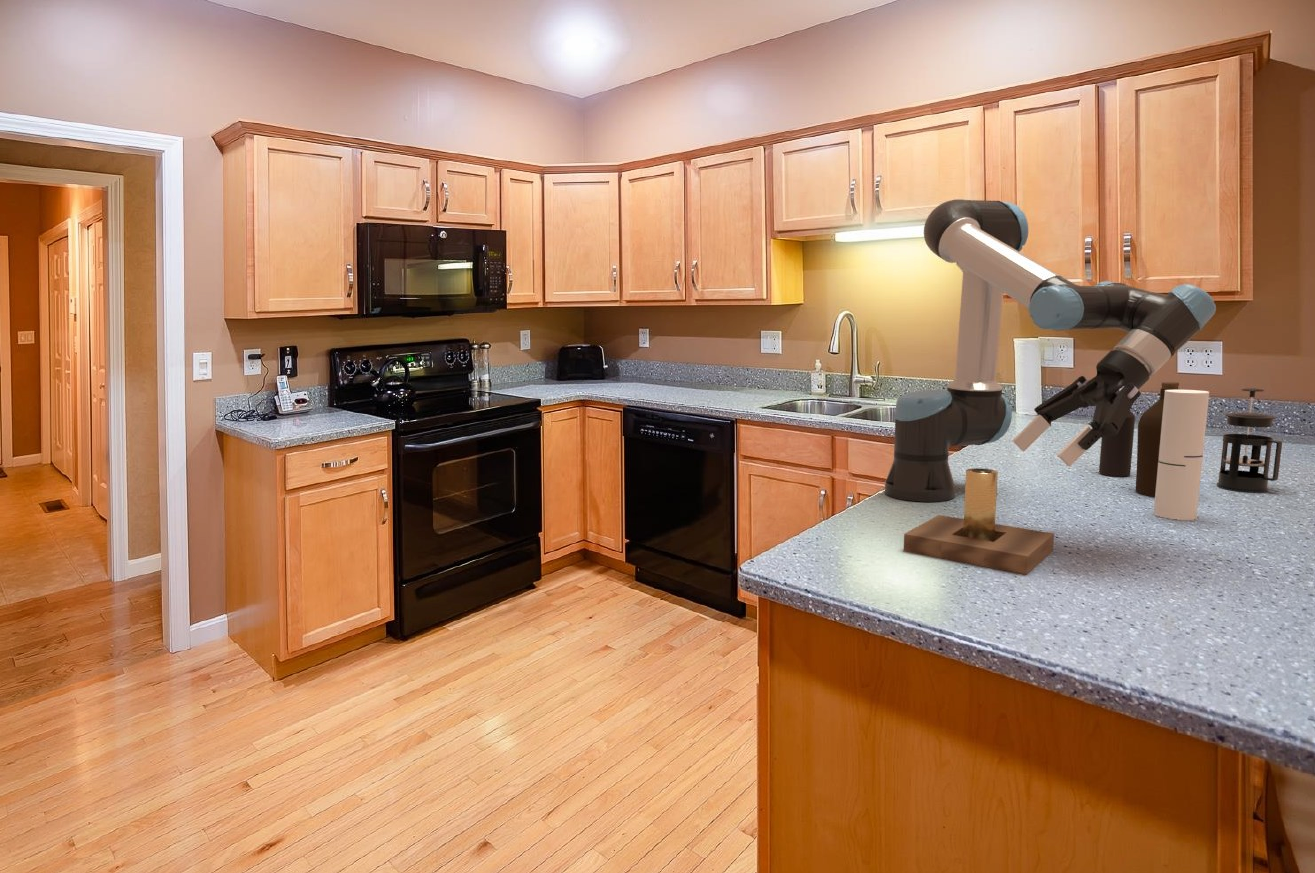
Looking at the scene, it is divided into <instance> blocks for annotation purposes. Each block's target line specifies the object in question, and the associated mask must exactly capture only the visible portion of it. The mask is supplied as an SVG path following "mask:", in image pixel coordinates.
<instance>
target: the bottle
mask: <svg viewBox="0 0 1315 873" xmlns="http://www.w3.org/2000/svg"><path fill="white" fill-rule="evenodd" d="M1135 422H1136V416H1135V414H1134V413H1133V412H1132V411H1131V410H1130V411H1129V413H1128V415H1127V417H1126V419H1125V421H1124V423H1123V425H1122V427H1121V429H1120V431H1119V433H1118V434H1117V435H1116V436H1113V437H1112V436H1111V435H1107V436H1105V437H1103V438H1101V440H1100V454H1099V455H1100V456H1099V466H1098V468H1099V469H1098V473H1099V474H1100V475H1103V476H1106V477H1115V478H1125V477H1130V475H1131V470H1132V469H1131V468H1132V458H1133V448H1134V446H1133V445H1134V435H1135V434H1134V433H1135V424H1136V423H1135ZM1111 424H1112V425H1113V423H1111Z"/></svg>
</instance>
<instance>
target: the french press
mask: <svg viewBox="0 0 1315 873" xmlns="http://www.w3.org/2000/svg"><path fill="white" fill-rule="evenodd" d="M1240 390H1241V392H1242V391H1243V392H1249V398H1250V404H1249V411H1248V412H1236V413H1235V412H1234V413H1233V412H1232V413H1230V412H1229V413H1225V414H1224V416H1225V417H1226V418H1227V419H1226V420H1227V424H1228V425H1229V426H1235V427H1244V428H1247V432H1246V433H1225V434H1223V435H1222V441H1223V442H1222V450H1221V459H1220V461H1221V462H1220V470H1219V471H1218V481H1217V482H1216V487H1217V488H1219V489H1223V490H1227V491H1234V492H1238V493H1247V494H1248V493H1250V494H1251V493H1254V494H1257V493H1260V494H1261V493H1267V492H1268V491H1269V488H1268V485H1269V484H1268V483H1269V482H1270V481H1271V482H1274V481H1278V479H1279V475H1280V474H1279V472H1280V465H1281V464H1280V463H1281V458H1282V457H1281V455H1282V448H1283V442H1282V441H1280V440H1274V438H1273V437H1270V436H1265V435H1259V434H1250V428H1271V427H1272V426H1273V420H1274V419H1276V416H1274V415H1271V414H1264V413H1257V412H1252V409H1253V399H1254V398H1255V397H1256V396H1255V395H1256V392H1265V390H1264V389H1261V388H1255V387H1254V388H1253V387H1249V388H1248V387H1246V388H1245V387H1244V388H1241V389H1240ZM1229 444H1231V450H1230V457H1227V455H1228V449H1229V448H1228V447H1229ZM1273 444H1276V445H1275V446H1276V447H1275V454H1274V456H1275V457H1274V462H1273V464H1274V465H1273V473H1272V477H1269V471H1270V462H1271V461H1270V460H1271V455H1272V454H1271V453H1272V446H1273ZM1242 446H1245V448H1244V455H1243V456H1242V457H1241V448H1242ZM1248 446H1251V454H1250V458H1249V456H1248V454H1247V453H1248ZM1263 446H1265V454H1264V455H1265V456H1264V460H1263V459H1261V454H1262V453H1261V452H1262V451H1261V450H1262V447H1263ZM1226 464H1227V465H1229V468H1228V469H1226ZM1240 466H1241V467H1249V471H1248V470H1240V469H1239V467H1240ZM1261 467H1262V468H1263V473H1260V472H1259V469H1260V468H1261Z"/></svg>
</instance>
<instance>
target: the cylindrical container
mask: <svg viewBox="0 0 1315 873" xmlns="http://www.w3.org/2000/svg"><path fill="white" fill-rule="evenodd" d="M1209 399H1210V391H1209V390H1207V391H1206V390H1197V389H1196V390H1195V389H1179V390H1165V395H1164V406H1163V417H1162V427H1161V438H1160V449H1159V461H1158V471H1157V482H1156V493H1155V497H1154V505H1153V515H1154V516H1156V517H1159V516H1160V517H1159V518H1162V517H1164V518H1163V519H1167V518H1169V519H1168V520H1173V519H1177V520H1176V521H1194V519H1195V520H1197V518H1198V507H1199V498H1200V497H1199V496H1200V490H1201V489H1200V488H1201V487H1200V486H1201V478H1202V469H1203V468H1202V467H1203V458H1204V449H1205V448H1204V447H1205V439H1206V438H1205V436H1206V431H1207V430H1206V428H1207V421H1208V420H1207V418H1208V409H1209V401H1210V400H1209Z"/></svg>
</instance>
